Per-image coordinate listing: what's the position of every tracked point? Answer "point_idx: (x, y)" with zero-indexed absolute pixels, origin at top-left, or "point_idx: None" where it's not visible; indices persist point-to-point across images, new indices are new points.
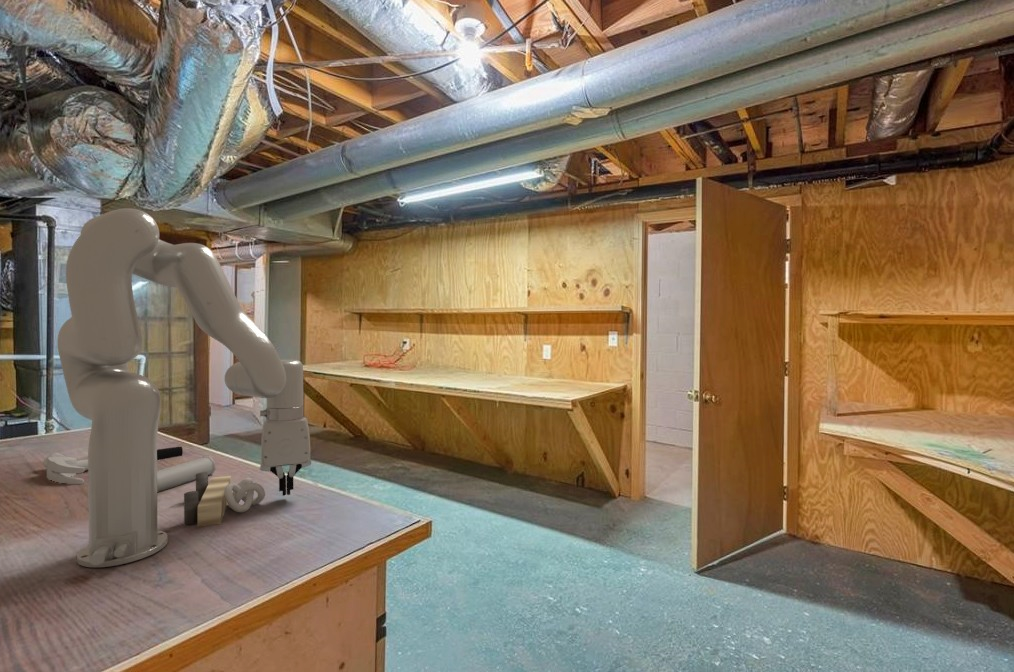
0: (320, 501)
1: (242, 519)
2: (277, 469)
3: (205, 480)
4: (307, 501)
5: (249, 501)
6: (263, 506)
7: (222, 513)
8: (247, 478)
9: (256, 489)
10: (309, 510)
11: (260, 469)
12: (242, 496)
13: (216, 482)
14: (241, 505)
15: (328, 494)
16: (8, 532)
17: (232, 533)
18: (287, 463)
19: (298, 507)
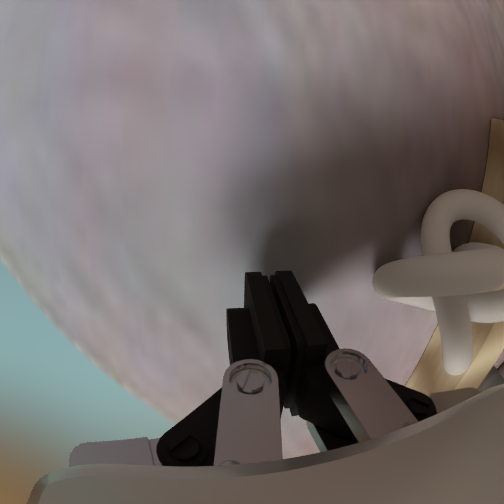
0: (81, 197)
1: (446, 111)
2: (397, 407)
3: (492, 382)
4: (147, 222)
5: (439, 234)
6: (366, 235)
7: (499, 171)
8: (469, 362)
9: (462, 251)
10: (141, 65)
11: (479, 391)
12: (475, 248)
13: (475, 381)
14: (462, 207)
15: (61, 287)
16: None
17: (457, 2)
18: (359, 465)
19: (198, 137)
